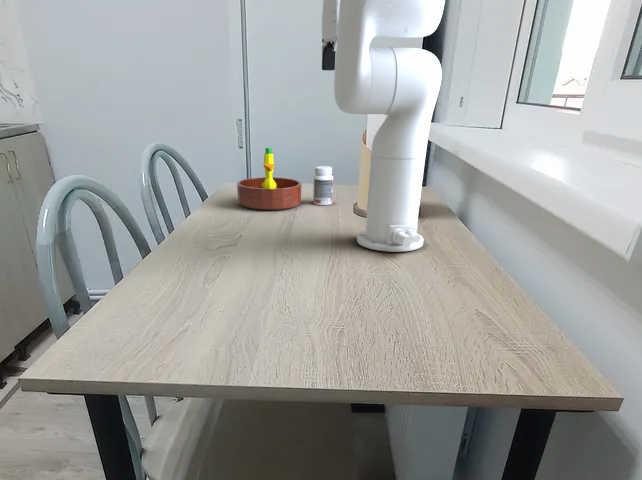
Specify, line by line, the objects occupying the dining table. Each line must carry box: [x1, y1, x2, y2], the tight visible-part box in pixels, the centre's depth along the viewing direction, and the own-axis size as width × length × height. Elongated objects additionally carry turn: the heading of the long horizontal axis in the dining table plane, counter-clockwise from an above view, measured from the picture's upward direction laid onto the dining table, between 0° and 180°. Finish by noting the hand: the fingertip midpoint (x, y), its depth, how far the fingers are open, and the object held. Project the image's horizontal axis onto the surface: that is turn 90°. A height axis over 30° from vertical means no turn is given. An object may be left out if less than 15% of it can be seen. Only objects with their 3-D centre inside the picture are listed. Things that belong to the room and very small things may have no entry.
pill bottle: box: [312, 165, 334, 206], centre depth 128 cm, size 5×5×8 cm
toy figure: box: [262, 147, 276, 189], centre depth 125 cm, size 7×4×12 cm, turn 7°
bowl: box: [236, 176, 302, 211], centre depth 127 cm, size 15×15×5 cm
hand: (335, 70), depth 124 cm, fingers open, 9 cm apart
